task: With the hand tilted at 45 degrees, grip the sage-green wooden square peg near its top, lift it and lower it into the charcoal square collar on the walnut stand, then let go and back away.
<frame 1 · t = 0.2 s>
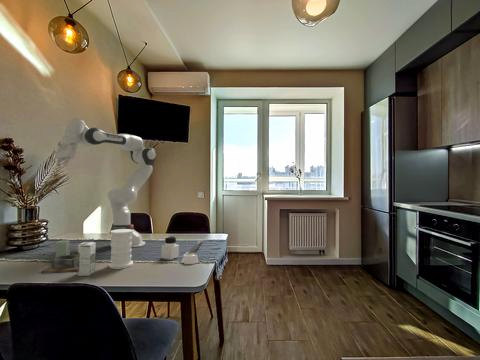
hand: (61, 166, 168), 52 cm above the table, tool tilted 20°, fingers open, 8 cm apart
decorative container: (121, 265, 150), on the table
medicine bottle: (170, 258, 166), on the table
collar stand: (67, 267, 146), on the table
square peg: (62, 259, 160), on the table
syrup box: (86, 274, 136), on the table
inkwell: (194, 260, 162), on the table
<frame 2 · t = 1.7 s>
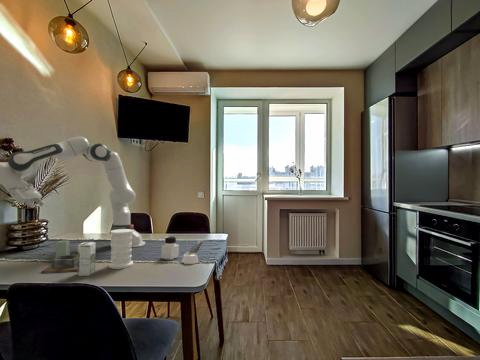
hand: (38, 206, 158), 29 cm above the table, tool tilted 45°, fingers open, 8 cm apart
nothing on the table moved.
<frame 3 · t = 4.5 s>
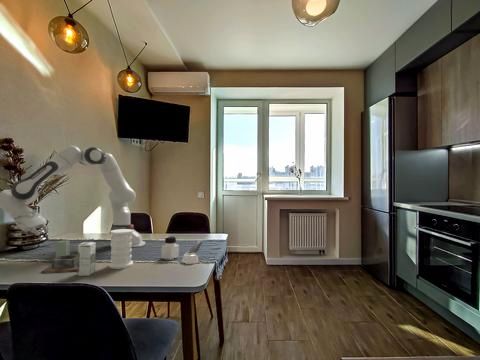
hand: (43, 233, 159), 15 cm above the table, tool tilted 45°, fingers open, 8 cm apart
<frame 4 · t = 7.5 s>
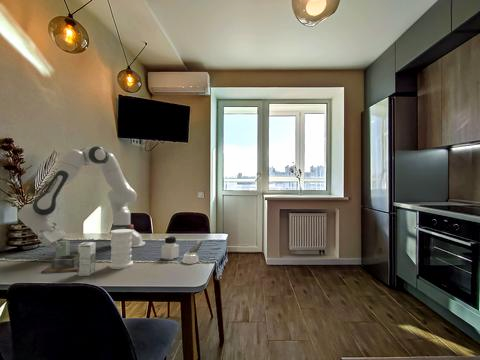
hand: (64, 246, 161), 7 cm above the table, tool tilted 45°, fingers closed on square peg, 5 cm apart
square peg: (62, 259, 160), on the table, touching gripper
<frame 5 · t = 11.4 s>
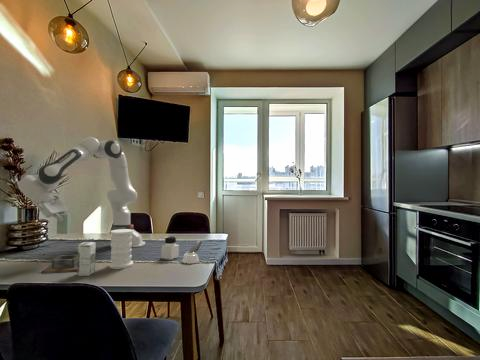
hand: (65, 219, 154), 23 cm above the table, tool tilted 45°, fingers closed on square peg, 5 cm apart
square peg: (63, 232, 154), point 16 cm above the table, touching gripper
when the fingers open (9 cm above the table, at t = 15.8 s): square peg drops 1 cm, resting on collar stand.
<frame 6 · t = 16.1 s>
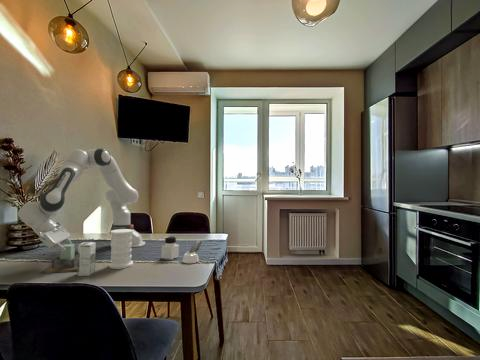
hand: (68, 248, 146), 9 cm above the table, tool tilted 45°, fingers open, 8 cm apart
square peg: (67, 265, 146), point 1 cm above the table, touching collar stand
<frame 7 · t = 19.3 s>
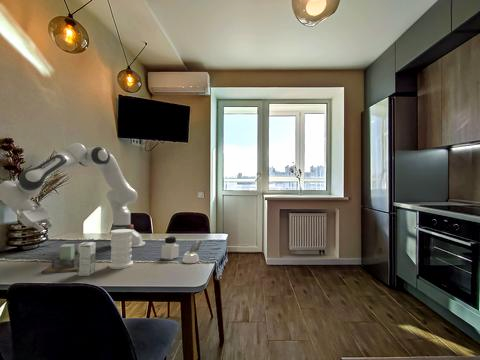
hand: (47, 228, 145), 20 cm above the table, tool tilted 45°, fingers open, 8 cm apart
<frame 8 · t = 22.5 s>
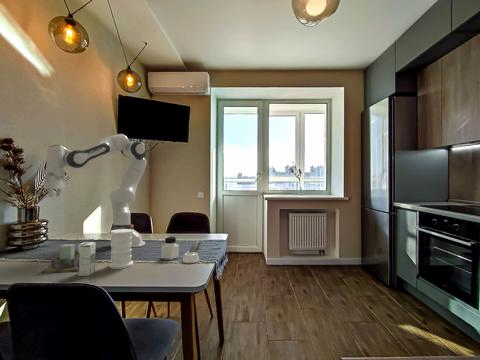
hand: (54, 196, 168), 34 cm above the table, tool pointing down, fingers open, 8 cm apart
at the end: square peg 0.1 cm off-centre on the collar stand, point 1.0 cm above the collar stand's base; square peg tilted 0°; the gripper is holding nothing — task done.
